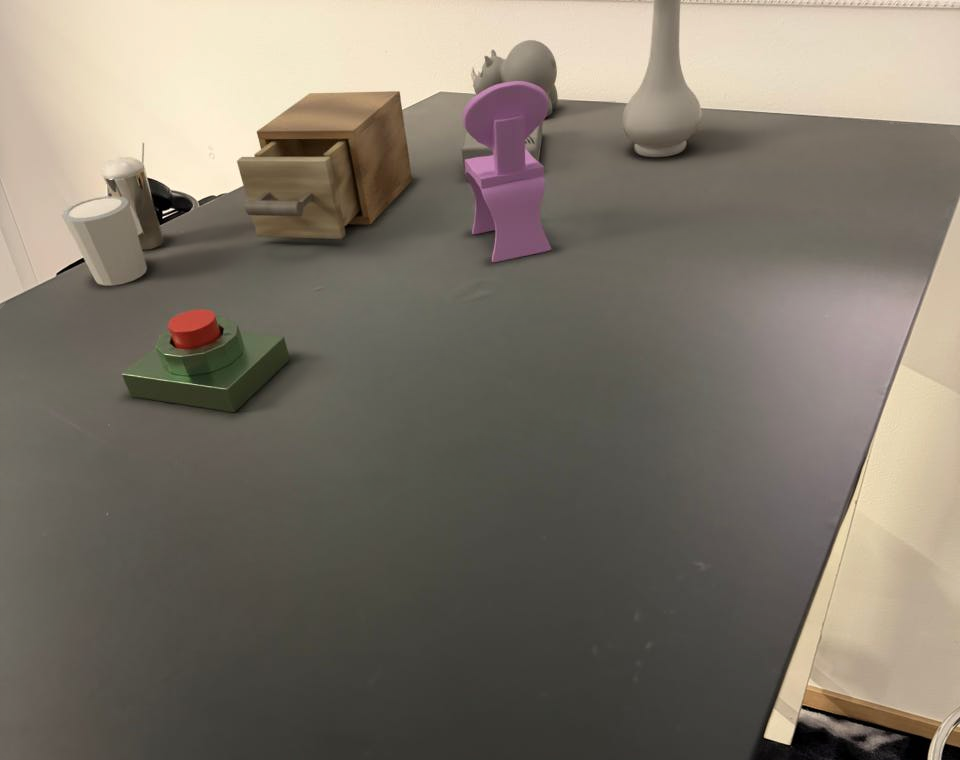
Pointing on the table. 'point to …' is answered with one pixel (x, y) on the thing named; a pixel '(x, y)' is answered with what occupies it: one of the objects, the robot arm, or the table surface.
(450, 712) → the table surface
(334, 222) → the drawer
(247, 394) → the button block
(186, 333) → the button
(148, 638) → the table surface
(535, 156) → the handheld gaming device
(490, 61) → the toy rhinoceros
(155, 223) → the milkshake
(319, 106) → the cabinet
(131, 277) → the white cup
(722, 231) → the table surface
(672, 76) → the flower vase
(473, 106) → the toy chair
